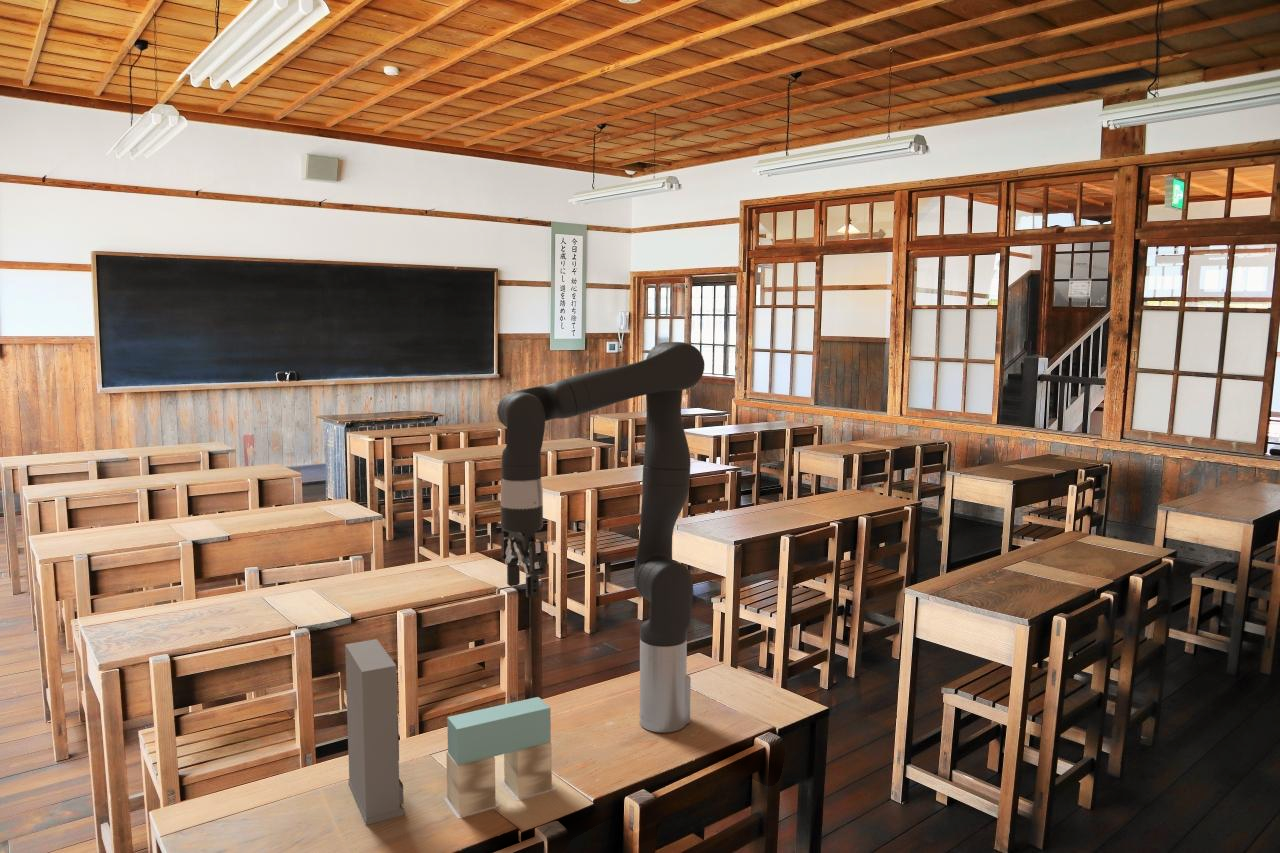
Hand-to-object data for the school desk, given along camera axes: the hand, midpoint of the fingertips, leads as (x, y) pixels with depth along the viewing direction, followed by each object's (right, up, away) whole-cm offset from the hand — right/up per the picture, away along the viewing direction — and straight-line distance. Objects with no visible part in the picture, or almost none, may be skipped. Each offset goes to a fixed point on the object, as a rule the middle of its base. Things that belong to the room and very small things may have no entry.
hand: (522, 590), depth 152 cm
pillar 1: (-6, -31, -16) cm, 36 cm away
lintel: (-2, -23, -14) cm, 27 cm away
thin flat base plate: (-2, -32, -13) cm, 34 cm away
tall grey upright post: (-22, -32, -15) cm, 42 cm away
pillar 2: (+2, -31, -11) cm, 33 cm away
